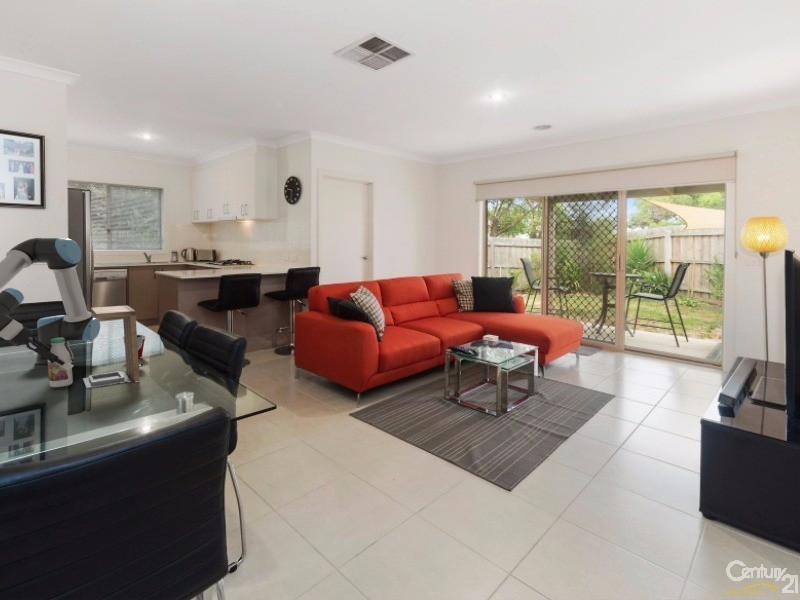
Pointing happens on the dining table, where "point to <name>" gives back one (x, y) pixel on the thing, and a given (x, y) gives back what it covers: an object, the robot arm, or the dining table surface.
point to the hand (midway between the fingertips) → (70, 365)
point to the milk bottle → (56, 372)
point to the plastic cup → (141, 347)
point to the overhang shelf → (129, 334)
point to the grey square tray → (105, 379)
